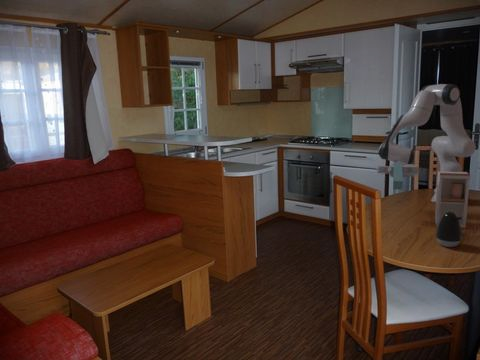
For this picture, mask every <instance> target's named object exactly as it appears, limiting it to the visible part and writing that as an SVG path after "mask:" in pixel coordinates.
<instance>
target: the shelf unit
mask: <svg viewBox="0 0 480 360" xmlns="http://www.w3.org/2000/svg"><path fill="white" fill-rule="evenodd" d="M470 179H471V173H468V172H467V171H461V172H442V171H440V170H439V171H437V180H436V181H437V183H436V188H437V194H436V193H435V194H436V202H435V211H434V212H435V213H434V223H435V226H436V227H438V224H439V222H440V220H441V218H442V216H443V215H444V214H445V213H447V212H453V213H455V214H456V216H457V217H462V219H460V220H459V222H460V226H461V229H462V228H463V229H465V228H466V226H467V215H468V202H469V192H470V191H469V190H470V189H469V188H470ZM452 183H462V184H463V192H462V199H451V186H452Z"/></svg>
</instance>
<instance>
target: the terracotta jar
mask: <svg viewBox="0 0 480 360" xmlns="http://www.w3.org/2000/svg"><path fill="white" fill-rule="evenodd" d="M462 192H463V184H462V183H452V186H451V199H462Z"/></svg>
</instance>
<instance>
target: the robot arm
mask: <svg viewBox="0 0 480 360" xmlns="http://www.w3.org/2000/svg"><path fill="white" fill-rule="evenodd" d="M434 106H440V107H439V113H440V114H439V115H440V128H441V129H442V130H443V131H444V133H446V135H441V136H436V137H434V138H433V139H432V141H431V145H430V146H431V150H432V151H433V152H434V153H435V154H436V156H437V159H438V161H439V171H442V172H463V170H462V169H463V167H462V165H461V164H460V163H459V162H458V160H457V158H456V157H458V158H468V157H471V156H472V155H473V154H475V151H476V143H475V141H474V140H473V139H472V138H470V137H469V135H468V134H467V131H466V130H465V126H464V122H463V120H464V119H463V108H462V101H461V91H460V88H459V86H458V85H456V84H452V83H451V84H450V83H447V84H445V83H439V84H429V85H425V86H423V87H422V88H421V90H420V91H419V92H417V94H416V96H415V97H414V99H413V101H412V103H411V105H410V107H409V110H408V111H407V112H405V114H402V115H400V117H398V118H397V120H396V122H395V123H394V125H393V126H392V128H391V130H390V132H389V133H388V135H387V137H386V138H385V139H384V140H383V142H382V143H381V144H380V146H379V148H378V151H377V152H378V156H379V157H380V159H381V160H386V161H389V162H393V163H391V164H390V165H378V166H376V173H377V174H389V176H390V177H391V178H393V171H394V170H393V169H394V162H399V163H402V173H403V178H412V177H416V176H417V175H419V174H420V166H419V165H416V164H414V163H413V162H414V159H415V151H414V150H413V148H410V147H408V146H403V145H400V144H398V143H396V142H395V143H394V141H395V139H396V137H397V136H398V134H399V132H400V131H402V129H404V128H417V127H420V126H424V125H425V124H427V122H428V121H429V119H430V117H431V115H432V112H433V109H434ZM433 193H434V194H433V196H432V198H431V201H430V202H433V203H436V194H437V187H435V188H434V189H433Z"/></svg>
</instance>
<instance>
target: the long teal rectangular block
mask: <svg viewBox="0 0 480 360" xmlns="http://www.w3.org/2000/svg"><path fill="white" fill-rule="evenodd" d="M393 163H394V169H393V170H394V171H393V177H392V179H393V181H392V182H393V183H392V184H393V185H392V187H393V188H392V190H400V191H402V190H403V186H404V185H403V181H404V180H403V173H402V163H399V162H393Z"/></svg>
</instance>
